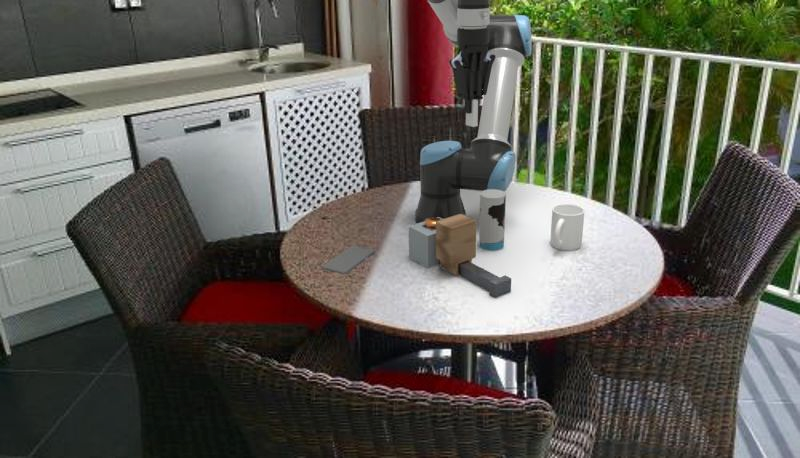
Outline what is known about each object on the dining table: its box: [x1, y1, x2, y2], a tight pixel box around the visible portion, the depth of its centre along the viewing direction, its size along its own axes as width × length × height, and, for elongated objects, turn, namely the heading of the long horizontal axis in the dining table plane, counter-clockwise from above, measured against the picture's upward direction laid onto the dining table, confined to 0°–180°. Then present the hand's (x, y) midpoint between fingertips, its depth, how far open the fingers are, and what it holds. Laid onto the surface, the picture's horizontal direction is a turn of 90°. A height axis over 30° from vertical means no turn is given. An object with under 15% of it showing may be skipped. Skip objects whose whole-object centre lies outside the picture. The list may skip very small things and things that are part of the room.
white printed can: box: [478, 189, 507, 252], centre depth 182 cm, size 7×7×15 cm
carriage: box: [436, 214, 478, 276], centre depth 170 cm, size 6×8×13 cm
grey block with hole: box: [407, 217, 442, 269], centre depth 177 cm, size 8×10×9 cm
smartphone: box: [321, 244, 376, 275], centre depth 179 cm, size 8×1×15 cm
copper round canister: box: [425, 217, 441, 231], centre depth 176 cm, size 4×4×7 cm
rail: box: [438, 260, 512, 299], centre depth 167 cm, size 22×5×4 cm, turn 36°
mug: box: [550, 203, 585, 251], centre depth 181 cm, size 12×8×10 cm
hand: (471, 125), depth 169 cm, fingers closed
